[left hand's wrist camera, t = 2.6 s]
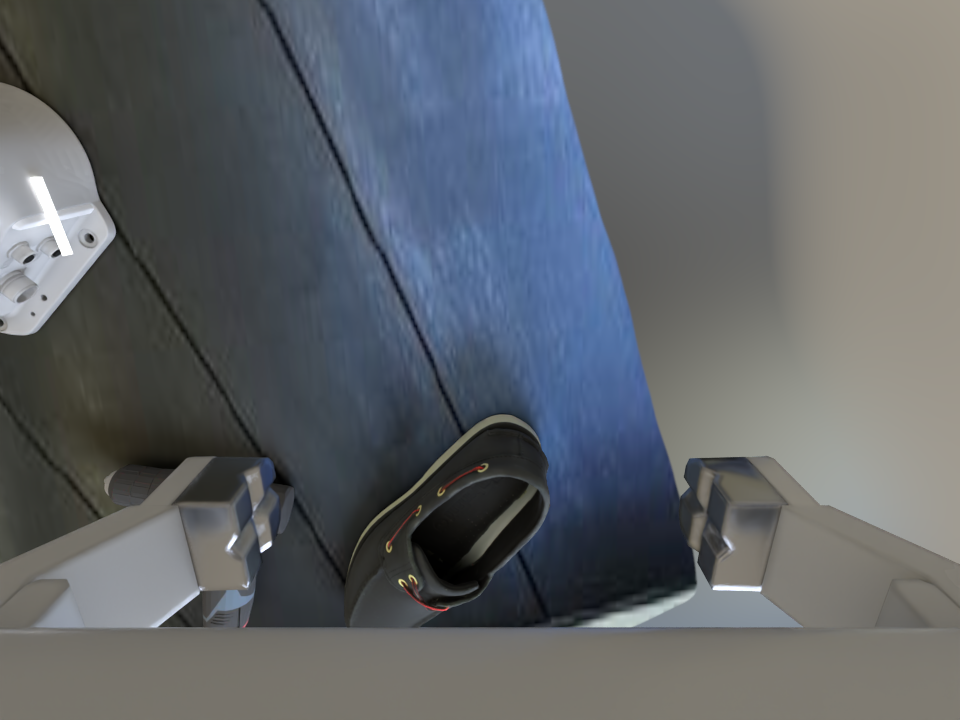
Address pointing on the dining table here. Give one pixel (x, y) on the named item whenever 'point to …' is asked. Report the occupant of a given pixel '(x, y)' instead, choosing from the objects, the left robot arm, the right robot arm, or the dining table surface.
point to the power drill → (218, 605)
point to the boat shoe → (450, 528)
